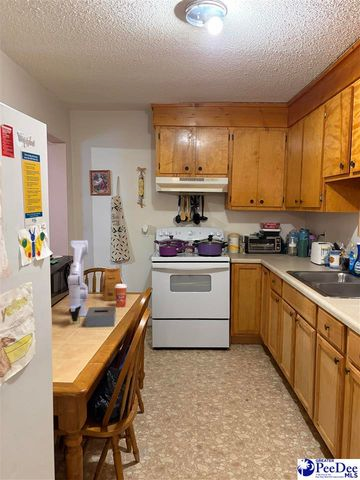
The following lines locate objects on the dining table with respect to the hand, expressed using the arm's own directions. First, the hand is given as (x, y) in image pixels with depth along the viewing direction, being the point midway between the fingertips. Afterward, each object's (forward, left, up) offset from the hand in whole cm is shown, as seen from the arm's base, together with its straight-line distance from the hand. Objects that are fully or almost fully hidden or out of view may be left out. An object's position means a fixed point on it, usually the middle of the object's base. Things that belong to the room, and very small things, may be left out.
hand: (75, 320), depth 193 cm
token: (0, 0, -1) cm, 1 cm away
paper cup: (-32, +24, -2) cm, 40 cm away
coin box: (-1, +14, -1) cm, 14 cm away
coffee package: (-50, +17, -2) cm, 53 cm away
